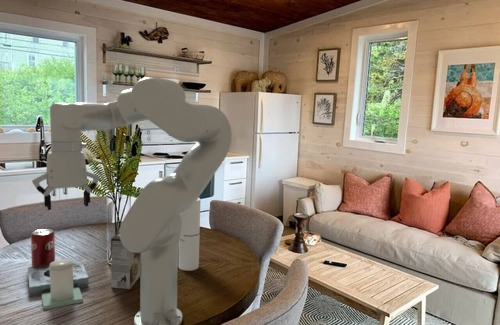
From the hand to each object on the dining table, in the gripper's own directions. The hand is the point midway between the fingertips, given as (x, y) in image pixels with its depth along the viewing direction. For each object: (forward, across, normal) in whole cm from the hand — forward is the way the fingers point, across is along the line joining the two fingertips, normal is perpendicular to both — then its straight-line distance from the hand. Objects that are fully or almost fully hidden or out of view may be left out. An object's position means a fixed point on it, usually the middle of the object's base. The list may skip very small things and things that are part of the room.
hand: (68, 207), depth 110 cm
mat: (+27, +2, 0) cm, 27 cm away
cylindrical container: (+28, -40, -5) cm, 49 cm away
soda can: (+27, +4, -29) cm, 40 cm away
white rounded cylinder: (+26, +2, 0) cm, 26 cm away
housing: (+27, +2, -13) cm, 30 cm away
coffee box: (+28, -17, -3) cm, 32 cm away
